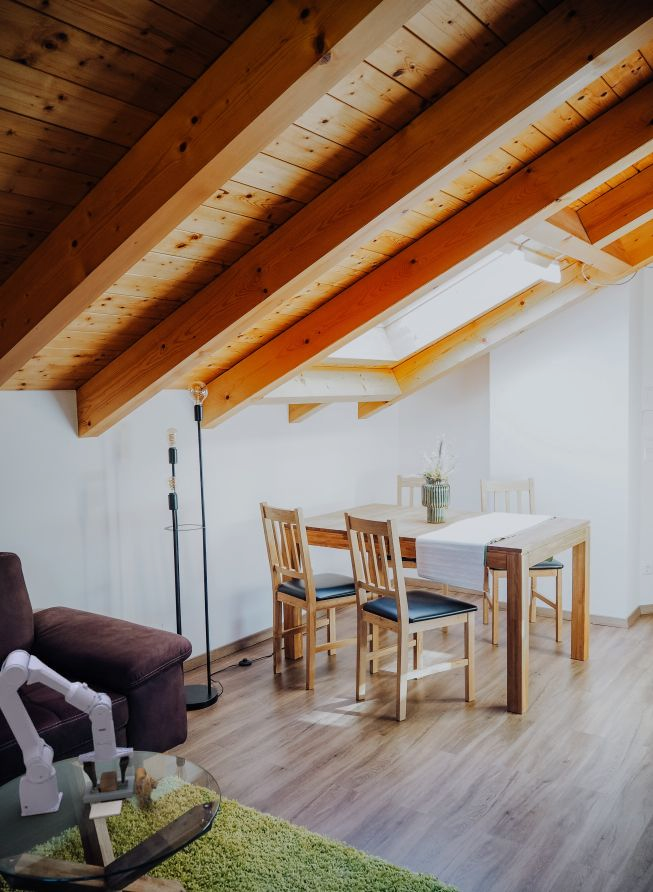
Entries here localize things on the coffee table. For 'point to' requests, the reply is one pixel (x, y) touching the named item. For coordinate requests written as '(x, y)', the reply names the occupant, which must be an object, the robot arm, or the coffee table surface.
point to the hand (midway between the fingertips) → (109, 783)
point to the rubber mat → (105, 809)
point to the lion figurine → (144, 785)
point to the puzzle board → (111, 794)
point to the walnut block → (109, 781)
